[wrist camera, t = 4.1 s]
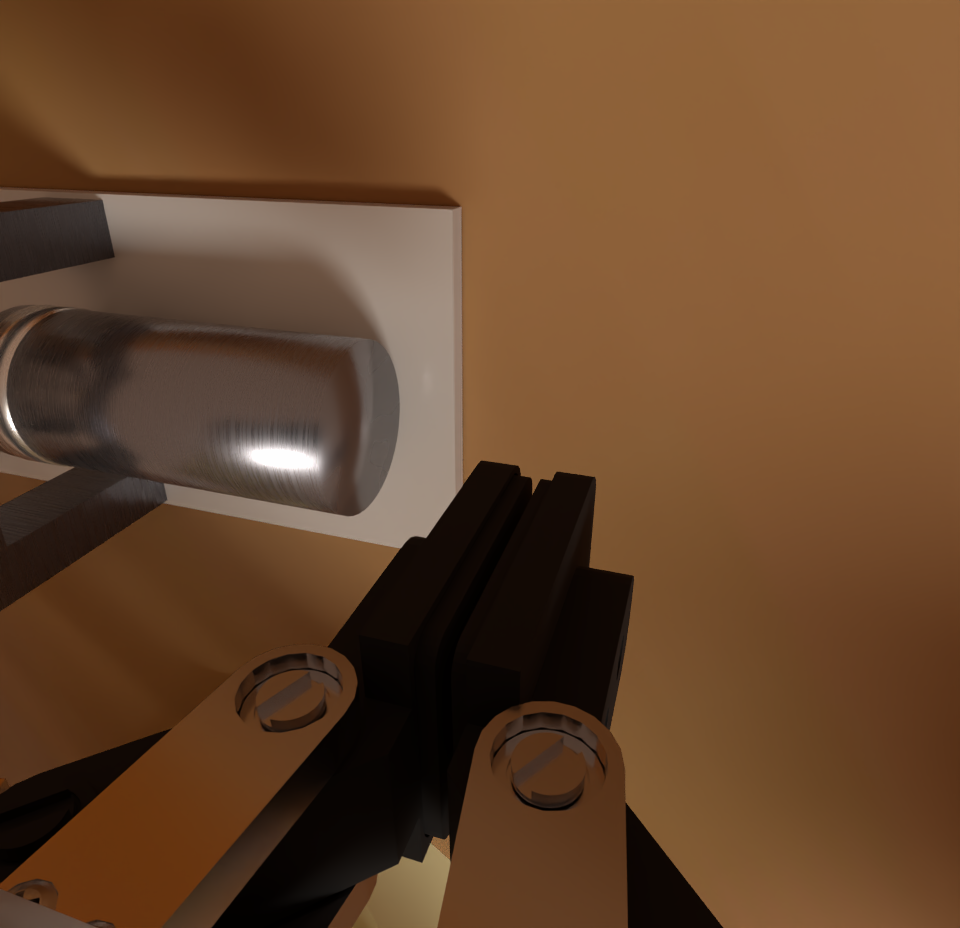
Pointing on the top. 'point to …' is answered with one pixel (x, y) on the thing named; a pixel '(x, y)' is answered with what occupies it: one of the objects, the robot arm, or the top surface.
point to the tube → (200, 405)
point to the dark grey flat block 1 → (78, 492)
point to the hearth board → (293, 318)
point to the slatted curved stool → (408, 894)
